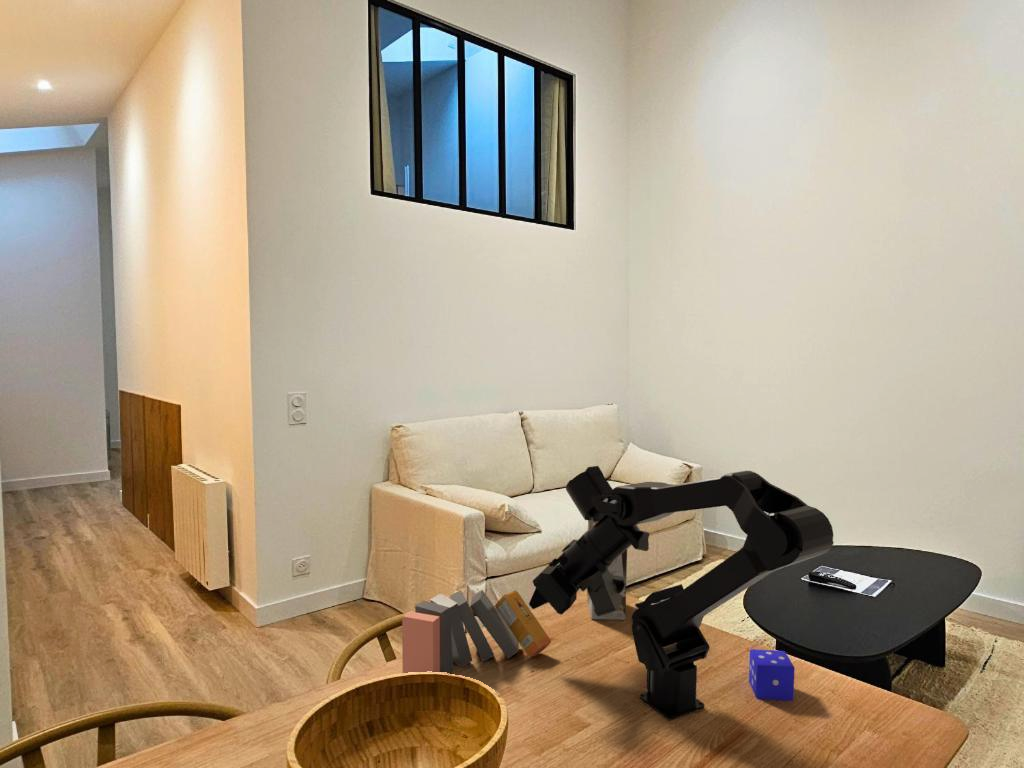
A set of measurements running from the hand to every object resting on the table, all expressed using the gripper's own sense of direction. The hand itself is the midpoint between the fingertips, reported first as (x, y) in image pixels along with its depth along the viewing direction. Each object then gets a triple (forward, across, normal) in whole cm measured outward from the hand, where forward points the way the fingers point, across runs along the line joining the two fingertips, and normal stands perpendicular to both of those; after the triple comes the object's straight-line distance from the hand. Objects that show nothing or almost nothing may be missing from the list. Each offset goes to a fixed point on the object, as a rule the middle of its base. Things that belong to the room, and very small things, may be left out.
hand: (531, 606), depth 109 cm
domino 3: (+13, -5, +2) cm, 14 cm away
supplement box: (+4, 0, -6) cm, 7 cm away
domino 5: (+7, 0, -3) cm, 8 cm away
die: (-19, +2, -31) cm, 36 cm away
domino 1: (+14, -14, +3) cm, 20 cm away
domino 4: (+10, -2, 0) cm, 11 cm away
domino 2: (+14, -9, +3) cm, 17 cm away
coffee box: (+1, +23, -11) cm, 25 cm away
